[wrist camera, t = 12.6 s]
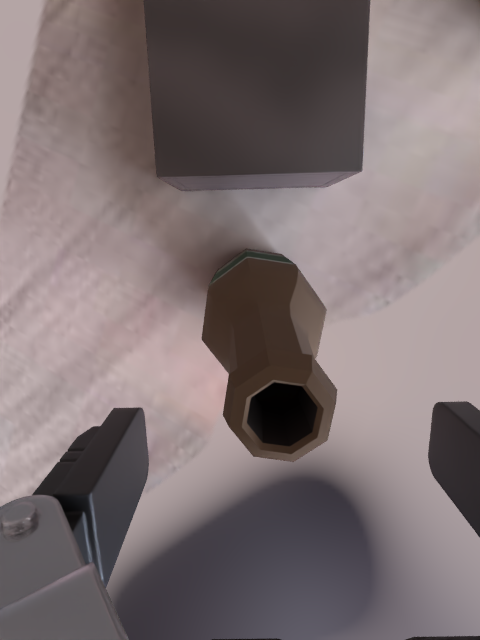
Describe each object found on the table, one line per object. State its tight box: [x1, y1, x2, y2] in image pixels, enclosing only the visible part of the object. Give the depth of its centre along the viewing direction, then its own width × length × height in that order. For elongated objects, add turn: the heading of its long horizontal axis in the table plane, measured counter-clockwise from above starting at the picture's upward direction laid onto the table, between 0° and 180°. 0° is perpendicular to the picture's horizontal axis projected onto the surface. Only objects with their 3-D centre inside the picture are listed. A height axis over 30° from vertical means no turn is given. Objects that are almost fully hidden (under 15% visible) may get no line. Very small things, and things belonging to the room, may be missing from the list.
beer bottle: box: [202, 249, 337, 462], centre depth 23 cm, size 8×8×24 cm
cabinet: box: [144, 0, 370, 191], centre depth 26 cm, size 15×13×10 cm
